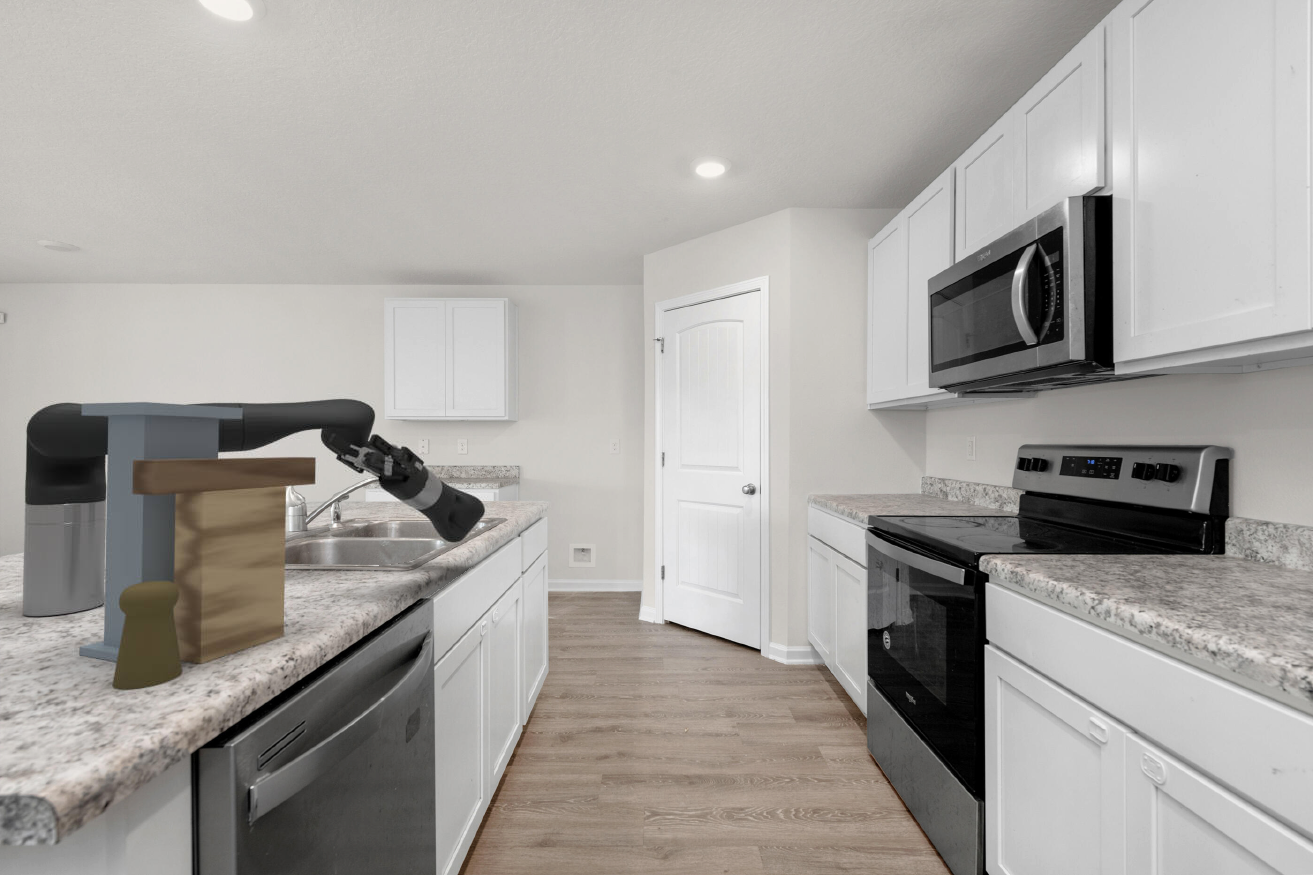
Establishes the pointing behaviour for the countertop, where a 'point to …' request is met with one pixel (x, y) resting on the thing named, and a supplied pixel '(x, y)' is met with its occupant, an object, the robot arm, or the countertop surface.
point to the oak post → (229, 570)
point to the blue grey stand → (145, 496)
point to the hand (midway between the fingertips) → (351, 438)
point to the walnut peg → (220, 474)
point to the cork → (148, 636)
